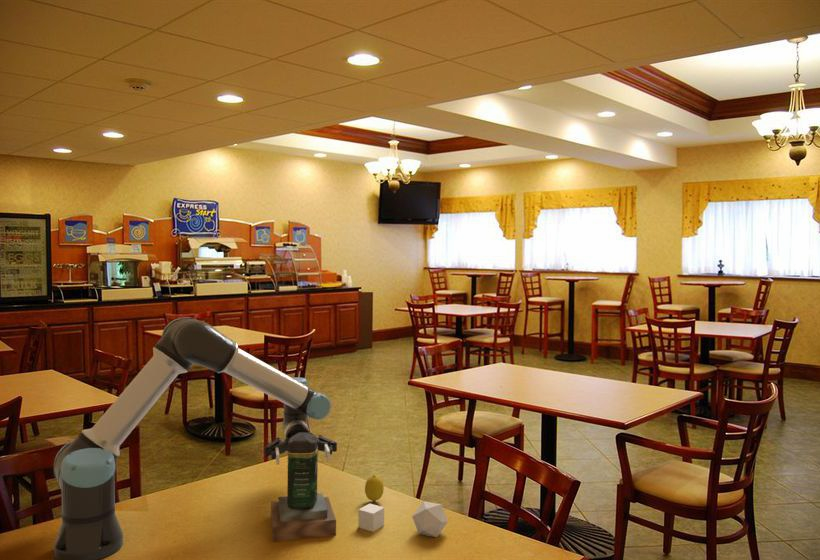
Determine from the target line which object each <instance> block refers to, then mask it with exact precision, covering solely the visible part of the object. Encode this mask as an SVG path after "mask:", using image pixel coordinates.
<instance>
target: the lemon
mask: <svg viewBox="0 0 820 560" xmlns="http://www.w3.org/2000/svg"><path fill="white" fill-rule="evenodd" d="M383 483H384V482H383V480H382V479H381V478H380V477H379V476H377V475H375V474H373V475H372V476H370V477H369V478H368V479H367V480H366V482H365V485H364V492H365V493H364V494H365V495H366V497H367V499H368V500H370V501H372V503H376V502H377V501H378V500H380V499H381V498H382V496H383V494H384V490H385V488H384V484H383Z"/></svg>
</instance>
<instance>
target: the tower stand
mask: <svg viewBox="0 0 820 560" xmlns="http://www.w3.org/2000/svg"><path fill="white" fill-rule="evenodd" d="M270 521H271V522H270V523H271V534H272V540H273V543H274V542H283V541H285V542H286V541H292V540H300V539H301V540H304V539H313V538H321V537H322V538H323V537H329V536H331V537H332V536H336V535H337V518H336V515H335V513H334V509H333V506H332V504H331V501H330V498H329V496H324V495H323V492H319V493H318V492H317V501H316V503H315V505H314V506H313V507H309V508H305V509H296V508H292V507H289V506H288V505H287V495H286V496H284V495H283V496H278V501H271V502H270Z"/></svg>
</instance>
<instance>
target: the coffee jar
mask: <svg viewBox="0 0 820 560" xmlns="http://www.w3.org/2000/svg"><path fill="white" fill-rule="evenodd" d="M317 437H318V436H316V435H315V434H313V433H312V432H310V433H302V432H299V433H297V434H295V435H294V436H292V437H291V438H290V440H289V442H288V451H287V487H286V488H287V491H286V494H287V495H286V496H287V505H288V506H289V507H292V508H296V509H305V508H309V507H313V506H314V505H315V503H316V501H317V493H318V471H319V469H318V468H319V467H318V463H319V462H318V461H319V459H318V458H319V457H318V455H319V454H318V451H319V450H318V443H317V440H318V439H317Z"/></svg>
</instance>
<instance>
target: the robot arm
mask: <svg viewBox="0 0 820 560" xmlns="http://www.w3.org/2000/svg"><path fill="white" fill-rule="evenodd" d="M238 346H239V345H238V343H237V342H236V341H235V340H233V339H231V338H229V337H228V336H226V335H224V333H221V332H220V331H219V329H217V328H215V327H214V326H212V325H210V324H209V323H208V322H205V321H202V320H198V319H196V318H193V317H179V318H176V319H174V320H172V321H170V322H169V323H168V324H167V325H166V326H165V328H163V331H162V334H161V338H160V339H159V340H158V341H157V343H156V344H155V345H154V346H153V347H152V352H153V354H152V357H150V360H149V361H147V363H146V364H145V365H144V367H143V368H142V369H141V370H140V371H139V372H138V374H137V375H136V376H135V377H134V378H133V379H132V381H131V382H130V383H129V384H128V385H127V386H126V387H125V389H124V390H123V392H121V394H119V396H118V397H117V398H116V400H114V402H113V403H112V404H111V405H110V406H109V407H108V409H107V410H106V411H105V412H104V414H103V415H102V416H101V417H100V418H99V419H98V420H97V421H96V423H95V424H94V425H93V426H92V427H91V428H87V429H82V431H80V433H78V435H77V436H76V437H75V438H74V439H73V440H72V441H70V442H67V443H66V444H64V445H63V446H62V447H61V448H60V450H59V451H58V452H57V453H56V456H55V458H54V460H53V461H54V462H53V475H54V478H55V479H56V481H57V483H58V485H59V487H60V491H61V524H60V527H59V530H58V533H57V536H56V539H55V542H54V546H53V557H54V558H56V559H55V560H101V559H103V558H106V557H108V556H111V555H112V554H115V553H116V552H118V551H119V550H120V549H121V548H122V547H123V544H124V533H123V530H122V528H121V525H120V522H119V520H118V517H117V514H116V484H115V483H116V474H115V473H116V468H117V467H116V460H117V459H118V458H119V457H120V454H121V453H120V446H121V445H122V444H123V443H124V441H125V440H126V439H127V438H128V436H129V435H130V434H131V433H132V431H133V430H134V429H135V428H136V427H137V425H138V424H139V423H140V422H141V420H142V419H143V418H144V417H145V416H146V414H147V413H148V412H149V411H150V410H151V408H152V407H153V406H154V404H156V402H157V401H158V400H159V398H160V397H161V396H162V395H164V392H165V391H166V390H167V389H168V388H169V386H170V385H171V384H172V382H174V380H175V379H176V378H177V377H178V376H179V375H181V374H185V373H188V372H189V371H190V369H191V368H192V367H193V366H194V365H197V366H201V367H204V368H206V369H208V370H211V371H212V372H215V373H217V374H220V373H225V374H227V375H229V376H231V377H233V378H235V379H237V380H239V381H240V382H243V383H244V384H246V385H248V386H250V387H252V388H254V389H256V390H257V391H260V392H261V393H264V394H265V395H267V396H270V397H271V398H273V399H275V400H277V401H279V402H281V403H283V421H282V429H283V432H284V440H283V439H282V438H280V437H276V438H275V439H274V440H272V442H270V443H269V444H267V445H266V446H264V457H269V456H271V457H270V458H271V460H275V463H276V464H275V465H277V466H278V465H279V466H280V455H282V454H283V453H285V452H288V442H289V440H290V438H291V437H292V436H294V435H295V434H297V433H299V432H302V433H311V432H310V428H309V426H308V417H309V418H310V419H314V420H318V421H319V420H322V419H325V418H326V417H328V415H329V414H330V411H331V409H332V403H331V400H330V398H329V397H328V396H326V395H325V394H324V393H321V392H319V391H316V390H315V389H313V388H311V387H309V385H308V380H307V379H306V378H305V377H291V376H290V375H288V374H286V373H284V372H282V371H280V370H278V369H277V368H275V367H274V366H272V365H270V364H268V363H266V362H264V361H263V360H261V359H259V358H258V357H255V356H254V355H252V354H250V353H248V352H247V351H245V350H243V349H241V348H240V347H238ZM316 437H317V439H318V440H317V443H318V451H319V452H323V453H324V455H325V456H324V457H325V458H326V461H327V462H330V461H331V455H333V452H334V453H336V452H337V450H338V442H336V441H334V440H332V439H329V438H327V437H325V436H323V435H322V434H319V435H317V436H316Z"/></svg>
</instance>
